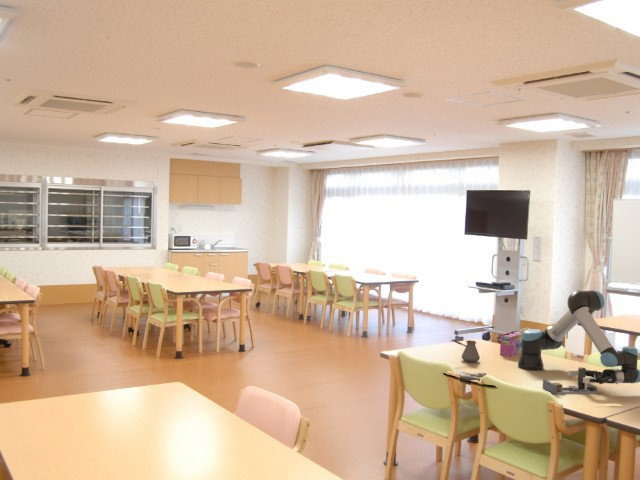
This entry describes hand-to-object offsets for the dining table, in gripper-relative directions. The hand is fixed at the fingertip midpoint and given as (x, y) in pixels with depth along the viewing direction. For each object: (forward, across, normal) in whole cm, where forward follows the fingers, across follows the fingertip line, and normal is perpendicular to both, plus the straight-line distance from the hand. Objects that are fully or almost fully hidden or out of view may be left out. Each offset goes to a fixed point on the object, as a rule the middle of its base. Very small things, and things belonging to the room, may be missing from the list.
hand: (575, 376), depth 317 cm
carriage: (-2, 0, -7) cm, 8 cm away
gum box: (-10, +92, -9) cm, 92 cm away
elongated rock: (+48, +28, -10) cm, 57 cm away
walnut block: (+11, 0, -8) cm, 13 cm away
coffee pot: (+35, +68, -9) cm, 77 cm away
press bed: (+3, 0, -9) cm, 9 cm away
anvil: (+15, 0, -8) cm, 17 cm away
